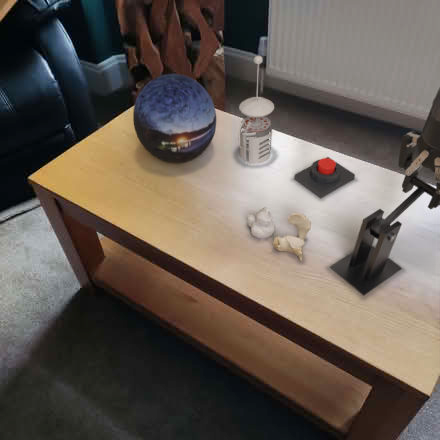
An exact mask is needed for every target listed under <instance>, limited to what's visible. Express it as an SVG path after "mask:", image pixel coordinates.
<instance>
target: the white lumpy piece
mask: <svg viewBox="0 0 440 440" xmlns="http://www.w3.org/2000/svg"><path fill="white" fill-rule="evenodd" d="M246 218H247V219H246V220H247V225H248V226H249V227H250V233H251V235H252V236H254V237H255V238H259V239H262V238H263V239H266V238H269V237H271V236H272V235H274V233H275V230H276V227H275V223H274V221H273V216H272V214H271V212H270V211H269V209H268V208H267V207H266V206H264V207H263V208H261V209H259V210H258V211H257V212H256V213H255V214H251V213H250V214H248V215H247V217H246Z"/></svg>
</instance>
